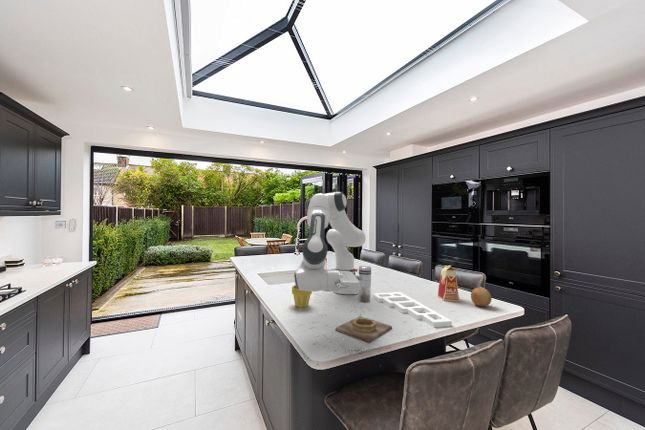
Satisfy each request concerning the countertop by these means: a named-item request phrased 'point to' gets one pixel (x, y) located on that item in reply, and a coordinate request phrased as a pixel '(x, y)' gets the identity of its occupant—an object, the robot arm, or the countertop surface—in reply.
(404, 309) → the holder
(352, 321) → the ring stand
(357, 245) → the robot arm
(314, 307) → the countertop surface
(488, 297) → the onion
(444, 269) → the milk carton
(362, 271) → the piston
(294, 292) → the plant pot
